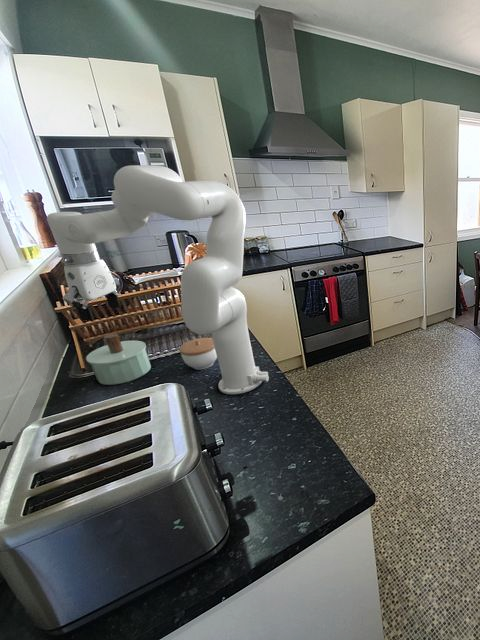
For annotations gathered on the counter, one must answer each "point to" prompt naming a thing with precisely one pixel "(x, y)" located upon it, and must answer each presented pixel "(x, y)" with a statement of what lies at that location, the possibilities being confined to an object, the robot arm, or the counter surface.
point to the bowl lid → (115, 351)
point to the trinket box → (198, 353)
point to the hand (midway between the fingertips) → (102, 313)
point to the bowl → (122, 370)
